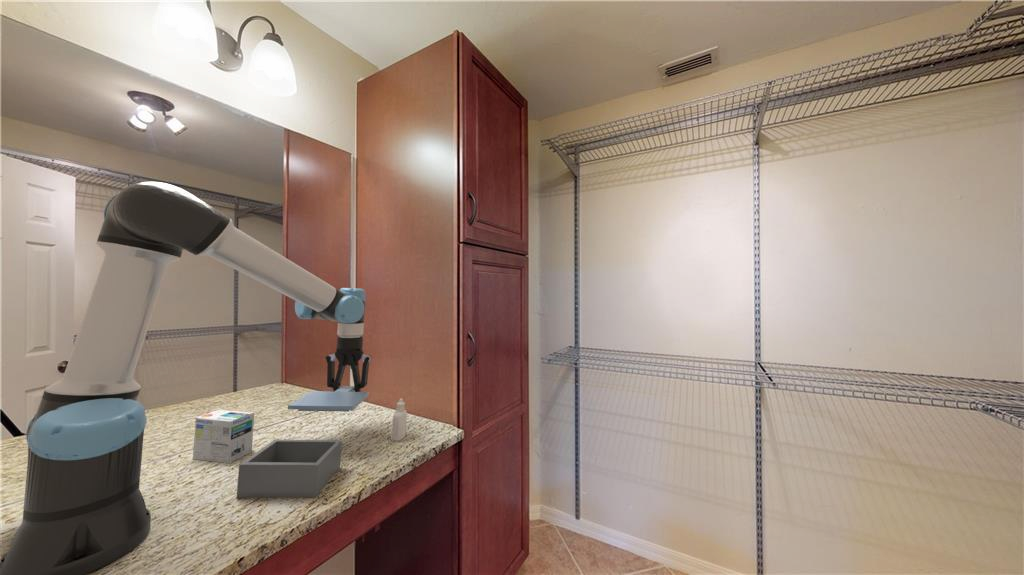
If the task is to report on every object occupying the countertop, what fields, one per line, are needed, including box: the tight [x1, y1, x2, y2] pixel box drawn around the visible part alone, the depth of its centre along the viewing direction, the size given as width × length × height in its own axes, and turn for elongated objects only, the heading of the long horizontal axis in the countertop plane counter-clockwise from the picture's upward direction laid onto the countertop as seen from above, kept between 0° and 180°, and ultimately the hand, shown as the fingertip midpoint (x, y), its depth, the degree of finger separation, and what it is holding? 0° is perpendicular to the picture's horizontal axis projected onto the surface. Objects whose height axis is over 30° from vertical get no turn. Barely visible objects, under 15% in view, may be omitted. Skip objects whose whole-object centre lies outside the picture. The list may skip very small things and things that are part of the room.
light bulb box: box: [192, 409, 255, 464], centre depth 85 cm, size 11×7×11 cm, turn 84°
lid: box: [287, 385, 370, 412], centre depth 96 cm, size 17×19×2 cm
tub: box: [236, 438, 343, 499], centre depth 75 cm, size 16×12×7 cm
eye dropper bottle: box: [391, 398, 408, 442], centre depth 101 cm, size 4×6×12 cm
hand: (345, 409), depth 103 cm, fingers closed on lid, 4 cm apart
